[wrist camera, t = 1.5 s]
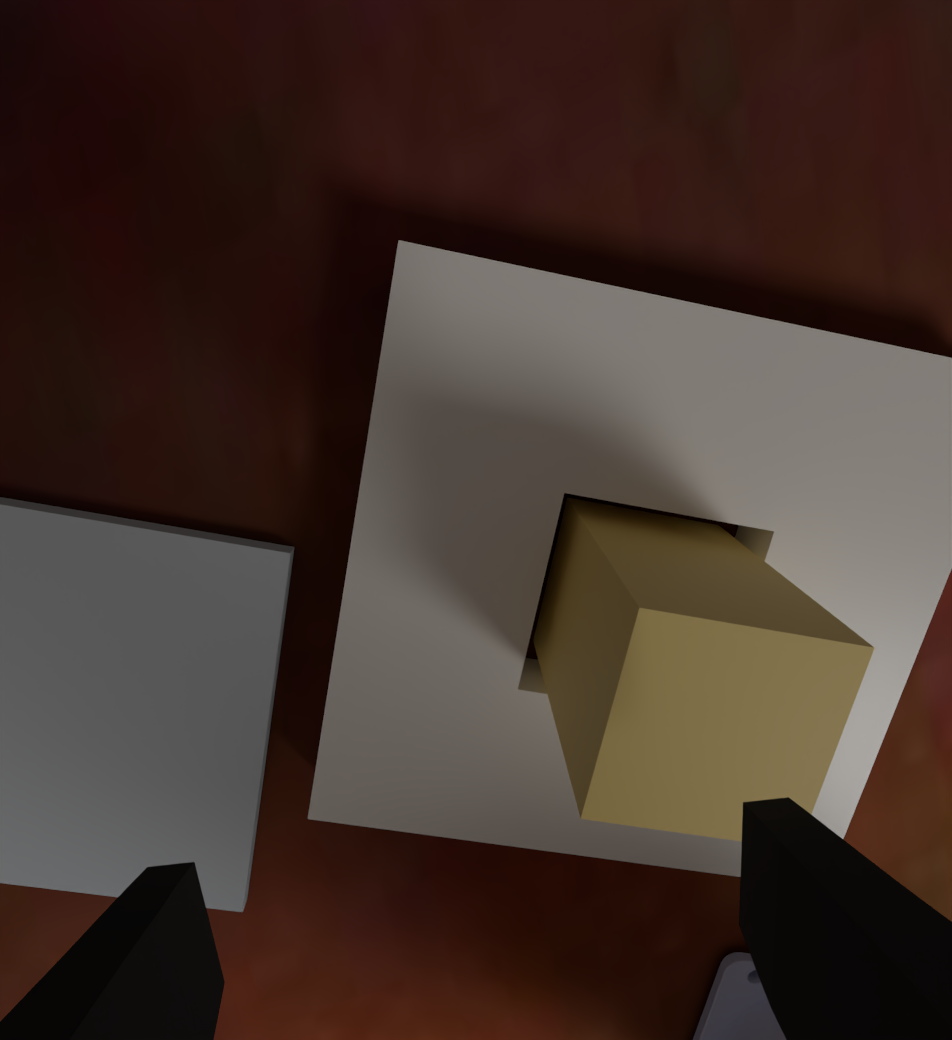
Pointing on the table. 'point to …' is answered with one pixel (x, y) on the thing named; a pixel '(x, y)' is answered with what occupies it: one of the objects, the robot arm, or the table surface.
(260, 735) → the mat
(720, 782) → the block
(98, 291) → the table surface
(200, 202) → the table surface
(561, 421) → the pocket holder
